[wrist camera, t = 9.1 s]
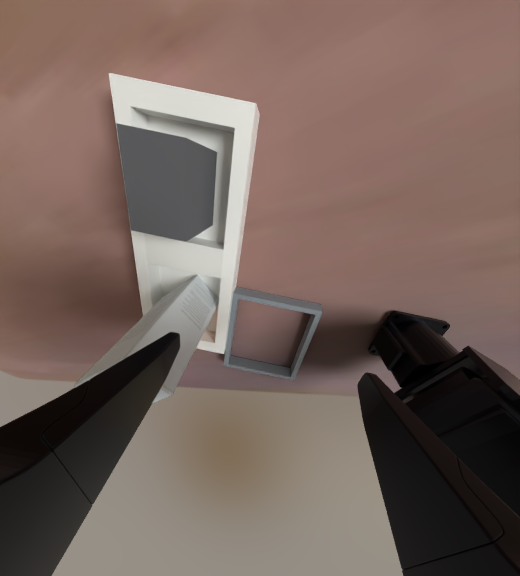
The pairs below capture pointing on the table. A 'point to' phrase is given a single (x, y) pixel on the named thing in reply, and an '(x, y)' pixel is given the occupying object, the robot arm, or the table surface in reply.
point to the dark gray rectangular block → (167, 183)
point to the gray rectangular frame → (277, 302)
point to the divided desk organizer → (227, 202)
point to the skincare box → (166, 331)
